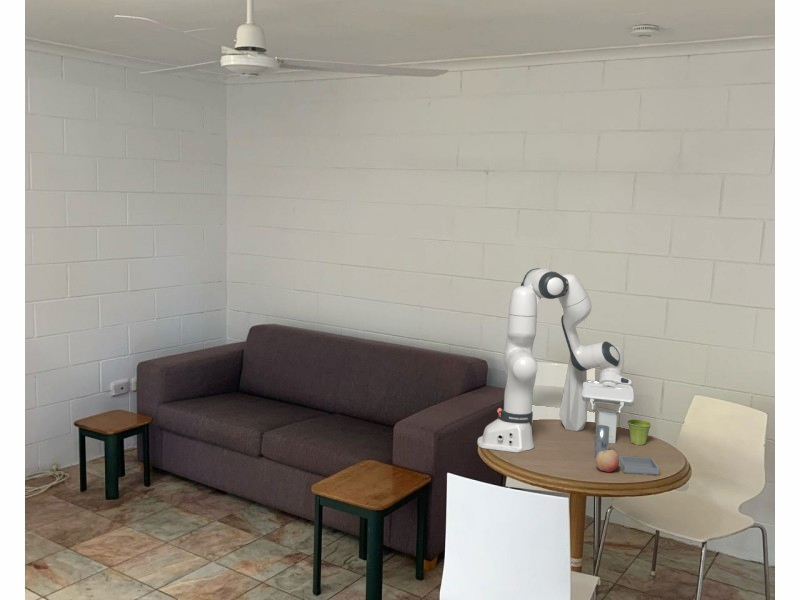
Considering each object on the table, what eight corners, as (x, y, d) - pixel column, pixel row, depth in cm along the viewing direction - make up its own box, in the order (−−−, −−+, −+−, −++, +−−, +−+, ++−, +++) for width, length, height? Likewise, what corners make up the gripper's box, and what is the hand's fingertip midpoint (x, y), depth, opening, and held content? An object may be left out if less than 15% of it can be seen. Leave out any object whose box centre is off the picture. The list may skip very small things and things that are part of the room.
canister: (594, 458, 288) (596, 428, 287) (593, 454, 293) (595, 424, 292) (608, 459, 288) (610, 429, 286) (606, 455, 292) (608, 425, 291)
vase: (577, 434, 319) (582, 358, 315) (555, 428, 328) (559, 353, 324) (594, 429, 327) (598, 355, 323) (571, 423, 336) (575, 350, 332)
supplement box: (615, 443, 308) (617, 413, 307) (597, 442, 309) (598, 412, 308) (613, 438, 315) (615, 409, 314) (595, 437, 317) (597, 407, 315)
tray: (624, 473, 273) (624, 466, 272) (618, 462, 285) (619, 455, 284) (659, 475, 271) (659, 468, 271) (652, 464, 283) (652, 458, 283)
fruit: (604, 466, 280) (606, 445, 279) (622, 472, 274) (624, 450, 273) (590, 469, 276) (591, 448, 275) (608, 476, 269) (609, 454, 268)
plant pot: (651, 447, 304) (653, 426, 303) (627, 445, 306) (628, 424, 305) (648, 440, 314) (650, 420, 313) (625, 438, 315) (626, 418, 314)
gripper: (583, 375, 307) (578, 404, 299) (635, 380, 300) (632, 410, 292) (584, 384, 312) (579, 412, 304) (635, 389, 305) (632, 419, 297)
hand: (605, 411), depth 298 cm, fingers open, 8 cm apart
